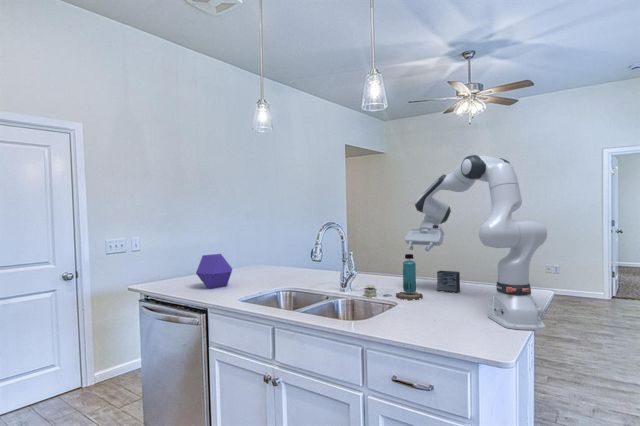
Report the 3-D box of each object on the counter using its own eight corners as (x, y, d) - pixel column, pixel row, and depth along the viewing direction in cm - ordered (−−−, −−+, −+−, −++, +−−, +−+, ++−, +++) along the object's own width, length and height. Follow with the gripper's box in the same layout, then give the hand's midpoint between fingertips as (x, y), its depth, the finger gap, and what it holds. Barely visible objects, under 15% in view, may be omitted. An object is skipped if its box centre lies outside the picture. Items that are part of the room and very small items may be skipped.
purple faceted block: (228, 289, 238) (222, 258, 244) (242, 280, 224) (235, 247, 230) (192, 294, 223) (187, 261, 229) (205, 285, 209) (199, 250, 215)
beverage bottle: (414, 292, 196) (413, 253, 196) (418, 295, 189) (417, 254, 189) (401, 292, 196) (401, 253, 196) (404, 295, 189) (404, 255, 189)
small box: (460, 291, 205) (460, 271, 205) (457, 293, 200) (457, 273, 200) (440, 289, 211) (440, 269, 211) (437, 291, 205) (436, 271, 205)
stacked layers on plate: (383, 297, 193) (383, 287, 193) (368, 300, 189) (368, 288, 189) (372, 294, 202) (372, 283, 202) (357, 296, 198) (357, 285, 198)
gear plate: (423, 300, 185) (423, 297, 185) (396, 300, 187) (396, 296, 187) (421, 294, 197) (421, 291, 197) (395, 294, 200) (395, 291, 200)
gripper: (408, 225, 212) (398, 244, 205) (443, 226, 198) (434, 247, 191) (412, 233, 215) (403, 252, 208) (447, 234, 201) (438, 255, 194)
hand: (418, 249), depth 199 cm, fingers open, 8 cm apart
